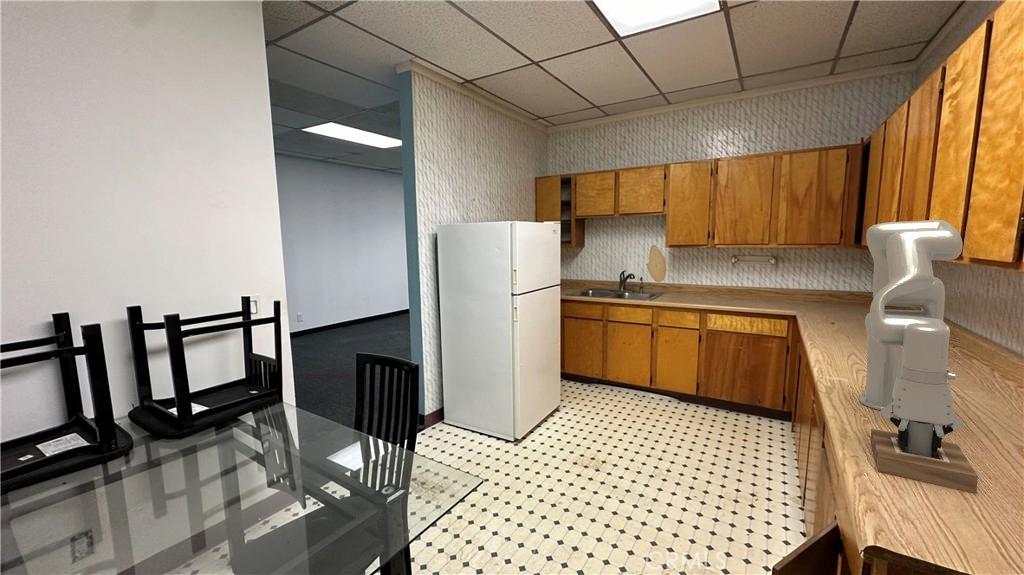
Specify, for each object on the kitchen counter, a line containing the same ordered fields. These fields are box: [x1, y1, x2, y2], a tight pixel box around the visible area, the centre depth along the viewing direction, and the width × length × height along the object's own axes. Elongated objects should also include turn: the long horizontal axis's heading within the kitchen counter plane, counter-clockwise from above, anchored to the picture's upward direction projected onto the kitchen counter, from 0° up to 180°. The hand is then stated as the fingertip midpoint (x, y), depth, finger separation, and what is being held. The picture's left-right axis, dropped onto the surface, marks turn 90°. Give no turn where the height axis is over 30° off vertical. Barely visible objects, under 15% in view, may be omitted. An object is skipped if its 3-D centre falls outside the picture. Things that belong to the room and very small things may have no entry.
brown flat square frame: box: [870, 428, 979, 494], centre depth 98 cm, size 16×16×4 cm
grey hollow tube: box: [905, 420, 934, 458], centre depth 98 cm, size 4×4×10 cm
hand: (918, 446), depth 98 cm, fingers closed on grey hollow tube, 4 cm apart
